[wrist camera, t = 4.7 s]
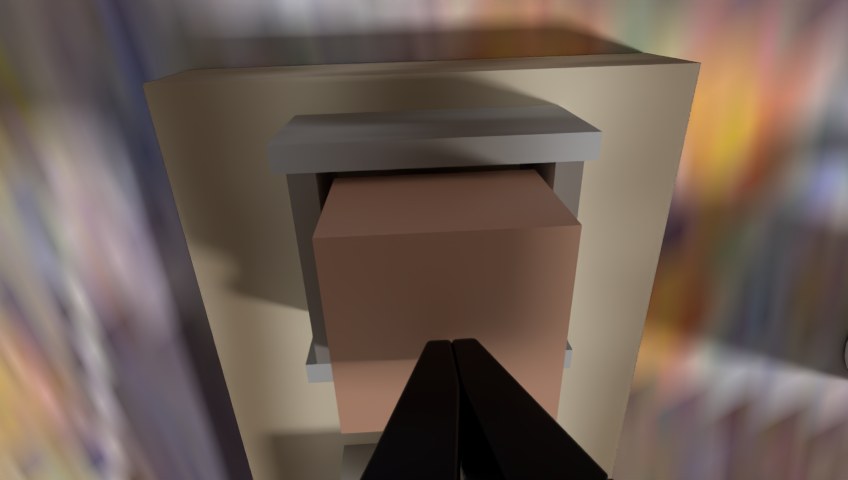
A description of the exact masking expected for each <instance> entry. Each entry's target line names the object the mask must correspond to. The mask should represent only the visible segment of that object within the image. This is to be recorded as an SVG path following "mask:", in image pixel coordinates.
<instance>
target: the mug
mask: <svg viewBox="0 0 848 480" xmlns="http://www.w3.org/2000/svg"><path fill="white" fill-rule="evenodd" d="M845 362H846V366H847V369H848V340H847V343H846V348H845Z"/></svg>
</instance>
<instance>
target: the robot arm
mask: <svg viewBox="0 0 848 480" xmlns="http://www.w3.org/2000/svg"><path fill="white" fill-rule="evenodd" d="M461 472H462V477H463V480H613V479H611V478H609V479H608V474H607V473H606V472H605V471H604V470H603V469H602V468H601V467H600V466H599V465H598V464H597V463H596V462H595V461H594V460H593V459H592V457H591V456H590V455H589V454H588V453H587V452H586V451H585V450H584V449H583V448H582V447H581V446H580V445H579V444H578V443H577V442H576V441H575V440H574V439H573V438H572V437H571V436H570V435H569V434H568V433H567V432H566V431H565V430H564V429H563V428H562V427H561V426H560V425H559V424H558V423H557V421H556V420H555V419H554V418H553V417H552V416H551V415H550V414H549V413H548V412H547V411H546V410H545V409H544V408H543V407H542V406H541V405H540V404H539V403H538V402H537V401H536V400H535V399H534V398H533V397H532V396H531V395H530V394H529V393H528V392H527V391H526V390H525V389H524V388H523V387H522V385H521V384H520V383H519V382H518V381H517V380H516V379H515V378H514V377H513V376H512V375H511V374H510V373H509V372H508V371H507V370H506V369H505V368H504V367H503V366H502V365H501V364H500V363H499V362H498V361H497V360H496V359H495V358H494V357H493V356H492V355H491V354H490V353H489V352H488V351H487V350H486V348H485V347H484V346H483V345H482V344H481V343H480V342H479V341H478V340H477V339H475V338H462V339H454V340H453V341H452V343H451V341H450V340H448V339H445V340H430V341H428V342H427V343H426V345H425V347H424V349H423V351H422V353H421V355H420V357H419V359H418V361H417V363H416V365H415V367H414V369H413V371H412V373H411V375H410V377H409V379H408V381H407V383H406V385H405V387H404V389H403V392H402V394H401V396H400V398H399V400H398V402H397V404H396V406H395V408H394V410H393V412H392V414H391V416H390V418H389V420H388V422H387V424H386V426H385V428H384V430H383V432H382V434H381V436H380V438H379V441H378V443H377V445H376V447H375V449H374V451H373V453H372V455H371V457H370V459H369V461H368V463H367V465H366V467H365V469H364V471H363V473H362V475H361V477H360V479H359V480H461Z"/></svg>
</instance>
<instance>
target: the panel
mask: <svg viewBox="0 0 848 480" xmlns="http://www.w3.org/2000/svg"><path fill="white" fill-rule="evenodd" d="M700 65H701V63H699V62H693V61H688V60H682V59H677V58H671V57H666V56H660V55H655V54H649V53H628V54H601V55H574V56H547V57H520V58H492V59H465V60H438V61H411V62H384V63H357V64H329V65H302V66H275V67H248V68H221V69H194V70H187V71H184V72H180V73H177V74H174V75H170V76H167V77H164V78H160V79H157V80H153V81H150V82H147V83H143V84H142V86H143V90H144V93H145V97H146V100H147V104H148V107H149V111H150V114H151V118H152V122H153V125H154V129H155V132H156V136H157V139H158V143H159V146H160V150H161V154H162V157H163V161H164V164H165V168H166V171H167V175H168V178H169V182H170V185H171V189H172V193H173V196H174V200H175V203H176V207H177V210H178V214H179V217H180V221H181V225H182V228H183V232H184V235H185V239H186V242H187V246H188V249H189V253H190V257H191V260H192V264H193V267H194V271H195V274H196V278H197V281H198V285H199V288H200V292H201V296H202V299H203V303H204V306H205V310H206V313H207V317H208V320H209V324H210V328H211V331H212V335H213V338H214V342H215V345H216V349H217V352H218V356H219V359H220V363H221V367H222V370H223V374H224V377H225V381H226V384H227V388H228V391H229V395H230V399H231V402H232V406H233V409H234V413H235V416H236V420H237V423H238V427H239V430H240V434H241V438H242V441H243V445H244V448H245V452H246V455H247V459H248V462H249V466H250V470H251V473H252V477H253V480H359V479H360V477H361V475H362V473H363V471H364V469H365V467H366V465H367V463H368V461H369V459H370V457H371V455H372V453H373V451H374V449H375V447H376V445H377V443H378V441H379V438H380V436H381V434H382V432H383V431H378V432H362V433H345V434H341V428H340V421H339V415H338V408H337V401H336V395H335V388H334V381H333V375H332V368H331V361H330V355H329V348H328V341H327V335H326V328H325V321H324V315H323V308H322V301H321V295H320V288H319V281H318V274H317V268H316V261H315V254H314V248H313V241H312V237H313V234H314V232H315V229H316V226H317V224H318V221H319V218H320V216H321V213H322V210H323V208H324V205H325V202H326V199H327V197H328V194H329V191H330V189H331V186H332V183H333V181H334V178H348V177H371V176H393V175H416V174H438V173H461V172H483V171H506V170H528V169H535V170H536V172H537V173H538V174H539V175H540V176H541V177H542V179H543V180H544V181H545V182H546V183H547V185H548V186H549V187H550V188H551V189H552V190H553V192H554V193H555V194H556V195H557V196H558V197H559V199H560V200H561V201H562V202H563V203H564V205H565V206H566V207H567V208H568V209H569V210H570V212H571V213H572V214H573V215H574V216H575V218H576V219H577V220H578V221H579V222H580V223H581V225H582V229H581V237H580V245H579V252H578V260H577V268H576V276H575V283H574V291H573V299H572V306H571V314H570V322H569V330H568V337H567V345H566V353H565V360H564V368H563V376H562V384H561V391H560V399H559V407H558V414H557V423H558V424H559V425H560V426H561V427H562V428H563V429H564V430H565V431H566V432H567V433H568V434H569V435H570V436H571V437H572V438H573V439H574V440H575V441H576V442H577V443H578V444H579V445H580V446H581V447H582V448H583V449H584V450H585V451H586V452H587V453H588V454H589V455H590V456H591V457H592V459H593V460H594V461H595V462H596V463H597V464H598V465H599V466H600V467H601V468H602V469H603V470H604V471H605V472H606V473H607V474H608V479H609V478H611V477H612V473H613V468H614V464H615V459H616V454H617V450H618V445H619V440H620V436H621V431H622V427H623V422H624V417H625V413H626V408H627V403H628V399H629V394H630V389H631V385H632V380H633V376H634V371H635V366H636V362H637V357H638V352H639V348H640V343H641V339H642V334H643V329H644V325H645V320H646V315H647V311H648V306H649V301H650V297H651V292H652V288H653V283H654V278H655V274H656V269H657V264H658V260H659V255H660V251H661V246H662V241H663V237H664V232H665V227H666V223H667V218H668V213H669V209H670V204H671V200H672V195H673V190H674V186H675V181H676V176H677V172H678V167H679V162H680V158H681V153H682V149H683V144H684V139H685V135H686V130H687V125H688V121H689V116H690V112H691V107H692V102H693V98H694V93H695V88H696V84H697V79H698V74H699V70H700ZM461 480H463V477H462V472H461Z"/></svg>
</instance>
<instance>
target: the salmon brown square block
mask: <svg viewBox="0 0 848 480" xmlns="http://www.w3.org/2000/svg"><path fill="white" fill-rule="evenodd" d="M581 229H582V225H581V223H580V222H579V221H578V220H577V219H576V218H575V216H574V215H573V214H572V213H571V212H570V210H569V209H568V208H567V207H566V206H565V205H564V203H563V202H562V201H561V200H560V199H559V197H558V196H557V195H556V194H555V193H554V192H553V190H552V189H551V188H550V187H549V186H548V185H547V183H546V182H545V181H544V180H543V179H542V177H541V176H540V175H539V174H538V173H537V172H536V170H535V169H528V170H506V171H483V172H461V173H438V174H416V175H393V176H371V177H348V178H334V181H333V183H332V186H331V189H330V191H329V194H328V197H327V199H326V202H325V205H324V208H323V210H322V213H321V216H320V218H319V221H318V224H317V226H316V229H315V232H314V234H313V237H312V241H313V248H314V254H315V261H316V268H317V274H318V281H319V288H320V295H321V301H322V308H323V315H324V321H325V328H326V335H327V341H328V348H329V355H330V361H331V368H332V375H333V381H334V388H335V395H336V401H337V408H338V415H339V421H340V428H341V434H345V433H362V432H378V431H383V430H384V428H385V426H386V424H387V422H388V420H389V418H390V416H391V414H392V412H393V410H394V408H395V406H396V404H397V402H398V400H399V398H400V396H401V394H402V392H403V389H404V387H405V385H406V383H407V381H408V379H409V377H410V375H411V373H412V371H413V369H414V367H415V365H416V363H417V361H418V359H419V357H420V355H421V353H422V351H423V349H424V347H425V345H426V343H427V342H428V341H430V340H445V339H448V340H450V341H451V343H452V341H453V340H454V339H462V338H475V339H477V340H478V341H479V342H480V343H481V344H482V345H483V346H484V347H485V348H486V350H487V351H488V352H489V353H490V354H491V355H492V356H493V357H494V358H495V359H496V360H497V361H498V362H499V363H500V364H501V365H502V366H503V367H504V368H505V369H506V370H507V371H508V372H509V373H510V374H511V375H512V376H513V377H514V378H515V379H516V380H517V381H518V382H519V383H520V384H521V385H522V387H523V388H524V389H525V390H526V391H527V392H528V393H529V394H530V395H531V396H532V397H533V398H534V399H535V400H536V401H537V402H538V403H539V404H540V405H541V406H542V407H543V408H544V409H545V410H546V411H547V412H548V413H549V414H550V415H551V416H552V417H553V418H554V419H555V420H556V421H557V414H558V407H559V399H560V391H561V384H562V376H563V368H564V360H565V353H566V345H567V337H568V330H569V322H570V314H571V306H572V299H573V291H574V283H575V276H576V268H577V260H578V252H579V245H580V237H581Z"/></svg>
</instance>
